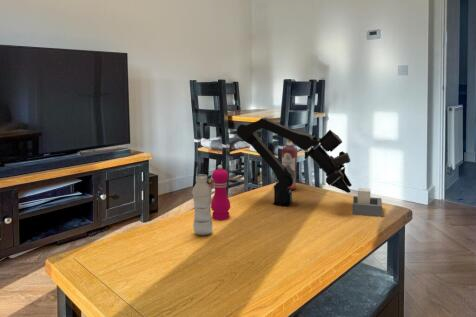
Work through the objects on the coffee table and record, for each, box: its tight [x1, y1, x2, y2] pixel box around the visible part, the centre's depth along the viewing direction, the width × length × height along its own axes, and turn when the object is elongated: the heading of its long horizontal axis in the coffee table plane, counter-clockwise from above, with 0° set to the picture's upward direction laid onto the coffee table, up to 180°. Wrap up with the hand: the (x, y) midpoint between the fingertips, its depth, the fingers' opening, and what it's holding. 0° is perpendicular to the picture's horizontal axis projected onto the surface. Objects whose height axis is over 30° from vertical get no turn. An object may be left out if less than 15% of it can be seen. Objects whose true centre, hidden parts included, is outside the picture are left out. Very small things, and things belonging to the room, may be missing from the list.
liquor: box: [281, 139, 298, 191], centre depth 181 cm, size 7×7×28 cm
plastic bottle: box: [191, 173, 214, 236], centre depth 129 cm, size 6×7×20 cm
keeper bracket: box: [351, 195, 383, 217], centre depth 152 cm, size 10×11×4 cm
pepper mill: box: [210, 164, 231, 221], centre depth 145 cm, size 7×7×20 cm
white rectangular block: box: [357, 187, 371, 204], centre depth 152 cm, size 4×4×8 cm
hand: (350, 188), depth 153 cm, fingers open, 9 cm apart
